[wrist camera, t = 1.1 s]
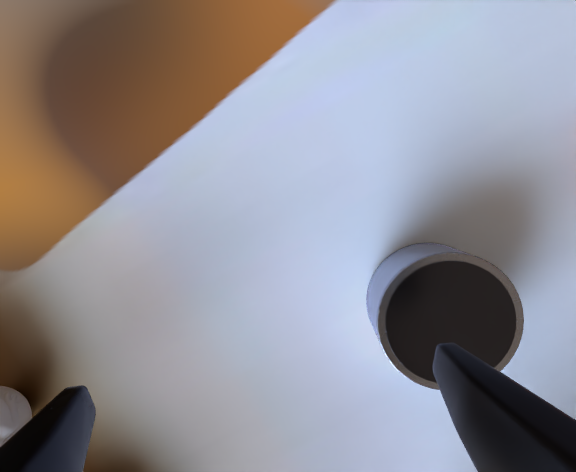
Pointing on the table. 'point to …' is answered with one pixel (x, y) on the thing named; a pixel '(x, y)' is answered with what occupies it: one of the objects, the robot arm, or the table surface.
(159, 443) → the table surface
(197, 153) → the table surface
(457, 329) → the silver pot
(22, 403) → the frog figurine
